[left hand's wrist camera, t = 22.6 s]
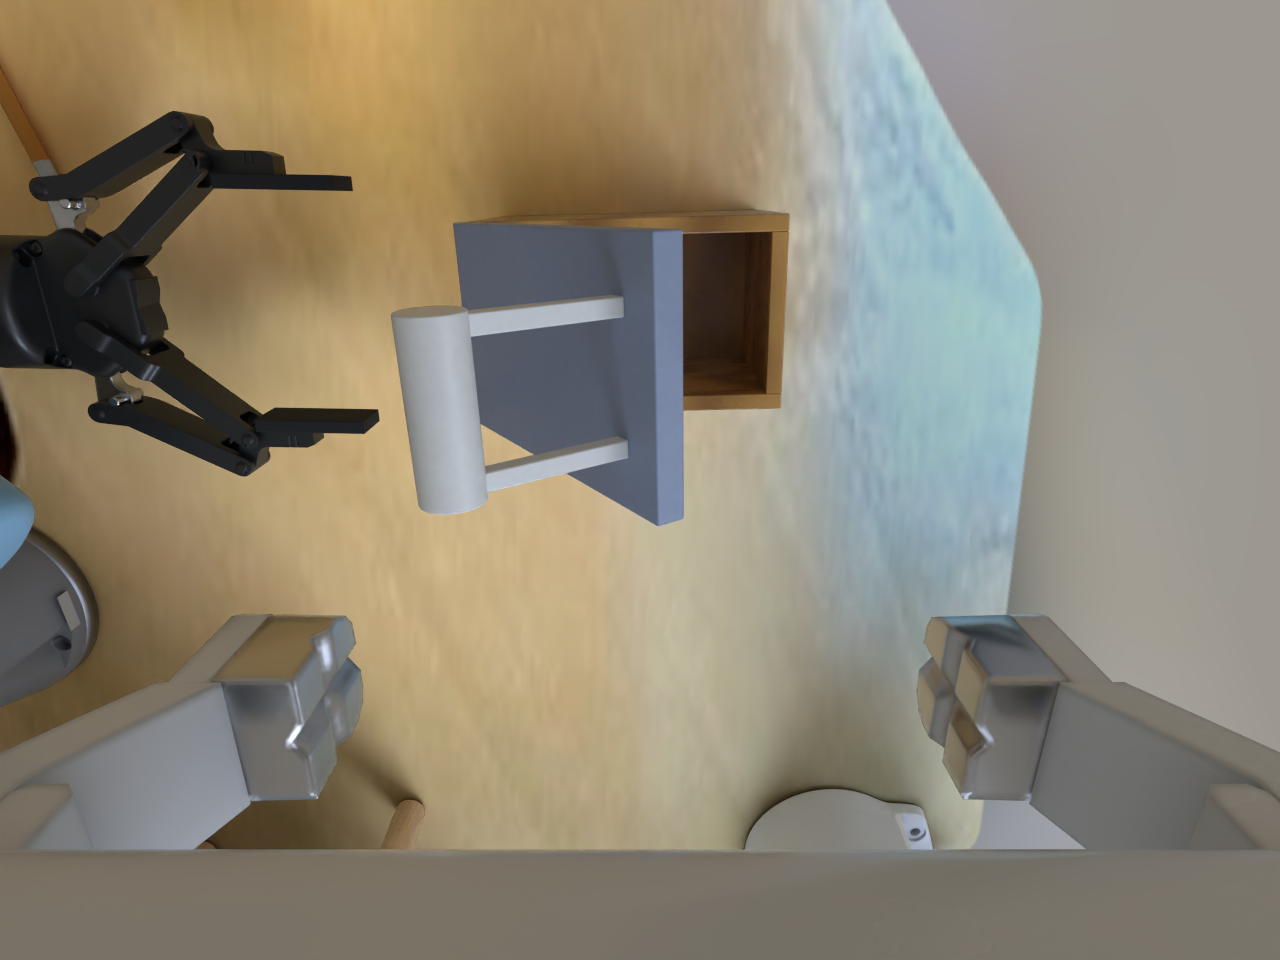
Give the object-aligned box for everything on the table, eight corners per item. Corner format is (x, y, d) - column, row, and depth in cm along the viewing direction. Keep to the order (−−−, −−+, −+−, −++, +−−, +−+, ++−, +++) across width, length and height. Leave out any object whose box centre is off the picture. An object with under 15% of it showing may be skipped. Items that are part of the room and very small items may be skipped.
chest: (757, 209, 47) (789, 213, 37) (752, 366, 50) (781, 408, 40) (504, 216, 47) (467, 222, 37) (517, 371, 50) (487, 415, 40)
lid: (683, 228, 23) (405, 244, 19) (684, 519, 27) (452, 592, 22) (475, 222, 36) (282, 230, 32) (495, 416, 40) (324, 449, 36)
